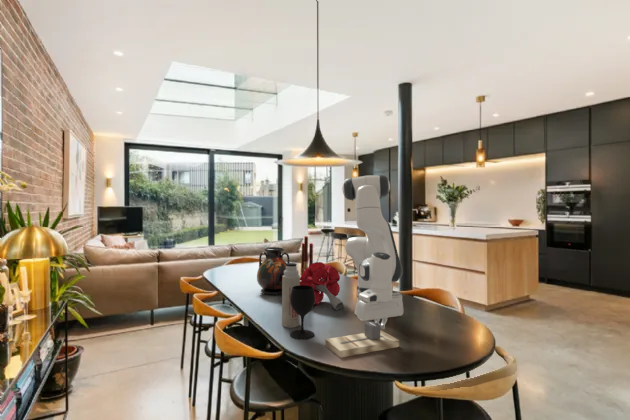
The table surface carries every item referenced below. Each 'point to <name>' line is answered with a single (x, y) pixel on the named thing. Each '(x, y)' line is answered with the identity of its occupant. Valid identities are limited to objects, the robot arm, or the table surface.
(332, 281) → the bouquet
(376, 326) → the fader
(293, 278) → the thermos bottle
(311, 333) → the wine glass
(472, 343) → the table surface
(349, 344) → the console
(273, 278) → the amphora vase
